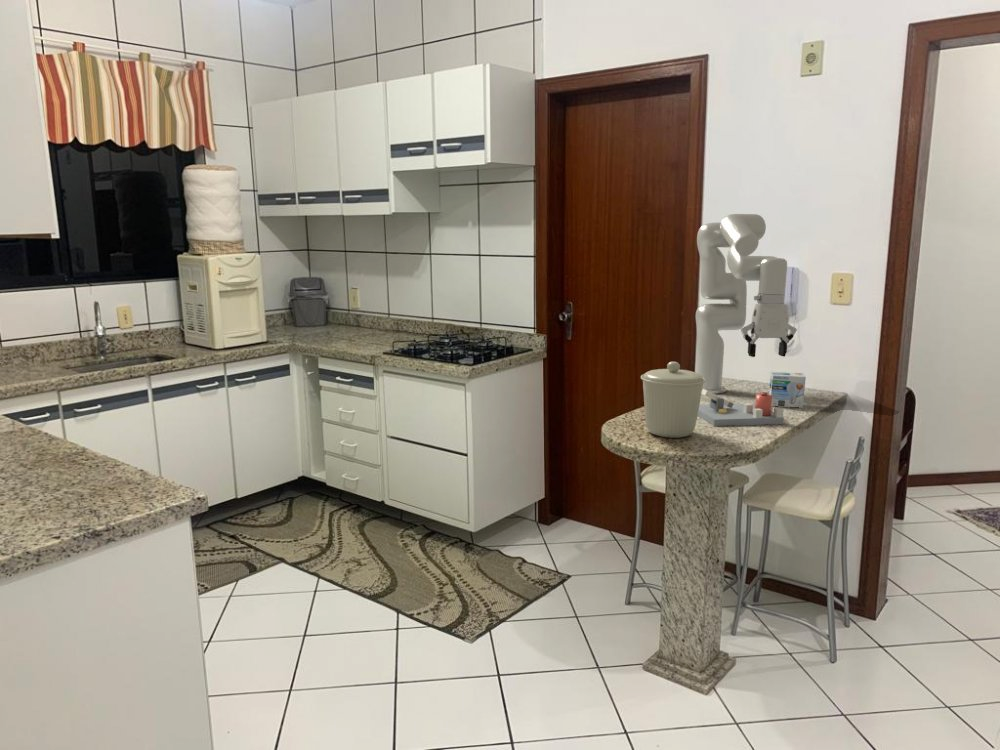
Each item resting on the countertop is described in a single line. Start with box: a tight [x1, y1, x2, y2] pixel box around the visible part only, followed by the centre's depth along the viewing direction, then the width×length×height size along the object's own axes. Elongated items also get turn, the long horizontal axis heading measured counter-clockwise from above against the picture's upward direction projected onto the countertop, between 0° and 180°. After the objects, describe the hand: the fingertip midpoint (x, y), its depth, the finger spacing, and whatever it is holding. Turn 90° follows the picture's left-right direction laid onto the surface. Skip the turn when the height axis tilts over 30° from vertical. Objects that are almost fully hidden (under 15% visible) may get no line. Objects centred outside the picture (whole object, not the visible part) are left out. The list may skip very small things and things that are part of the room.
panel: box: [697, 394, 785, 427], centre depth 240 cm, size 19×22×6 cm
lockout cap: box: [754, 391, 772, 416], centre depth 236 cm, size 5×5×7 cm
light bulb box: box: [768, 371, 807, 409], centre depth 256 cm, size 11×7×11 cm, turn 76°
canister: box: [640, 361, 706, 439], centre depth 219 cm, size 18×18×21 cm
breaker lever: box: [701, 389, 734, 408], centre depth 242 cm, size 4×10×2 cm, turn 97°
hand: (766, 356), depth 233 cm, fingers open, 9 cm apart
